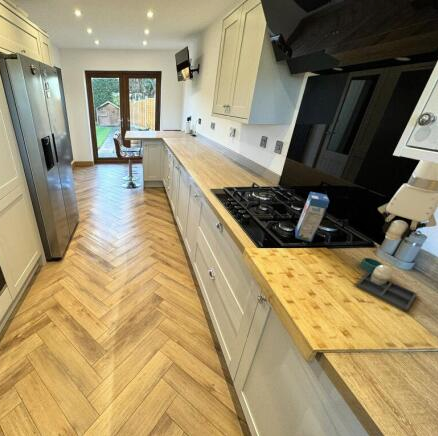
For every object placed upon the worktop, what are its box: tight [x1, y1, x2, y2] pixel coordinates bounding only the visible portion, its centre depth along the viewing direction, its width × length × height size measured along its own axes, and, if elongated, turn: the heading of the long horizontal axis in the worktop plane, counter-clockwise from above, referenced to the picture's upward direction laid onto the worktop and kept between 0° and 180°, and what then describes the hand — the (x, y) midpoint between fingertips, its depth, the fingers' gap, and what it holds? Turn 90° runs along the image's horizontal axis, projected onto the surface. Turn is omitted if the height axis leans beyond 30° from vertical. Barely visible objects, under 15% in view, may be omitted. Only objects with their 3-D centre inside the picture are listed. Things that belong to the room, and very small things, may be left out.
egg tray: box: [355, 272, 418, 313], centre depth 78 cm, size 13×13×2 cm
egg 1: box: [371, 264, 393, 285], centre depth 80 cm, size 4×4×7 cm
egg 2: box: [385, 219, 409, 242], centre depth 80 cm, size 4×4×7 cm
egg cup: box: [359, 257, 384, 273], centre depth 88 cm, size 6×6×4 cm
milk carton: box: [294, 191, 330, 243], centre depth 106 cm, size 10×6×20 cm, turn 151°
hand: (393, 234), depth 80 cm, fingers closed on egg 2, 4 cm apart
